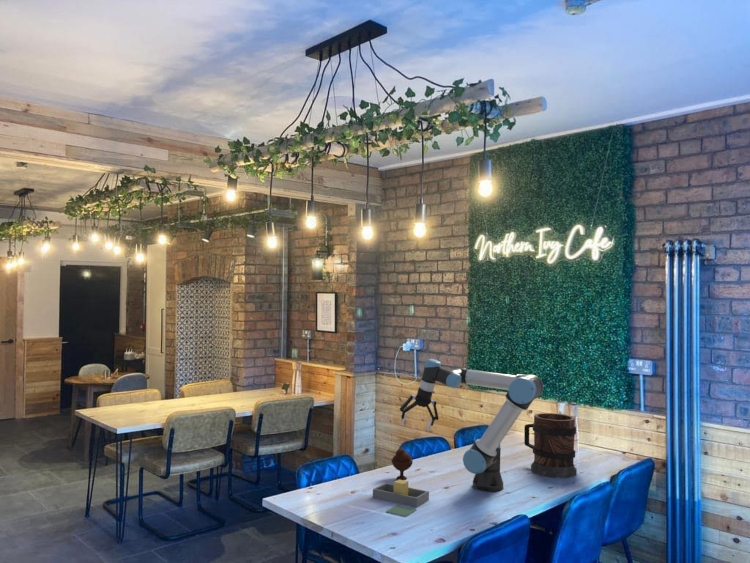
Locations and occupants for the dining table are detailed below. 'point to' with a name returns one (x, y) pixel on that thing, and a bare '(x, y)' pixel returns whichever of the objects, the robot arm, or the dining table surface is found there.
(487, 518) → the dining table surface
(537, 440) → the wooden beer tankard
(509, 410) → the robot arm
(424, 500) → the charcoal bin
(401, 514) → the green pad
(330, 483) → the dining table surface
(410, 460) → the ice cream bowl
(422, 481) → the dining table surface
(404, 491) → the mustard block
